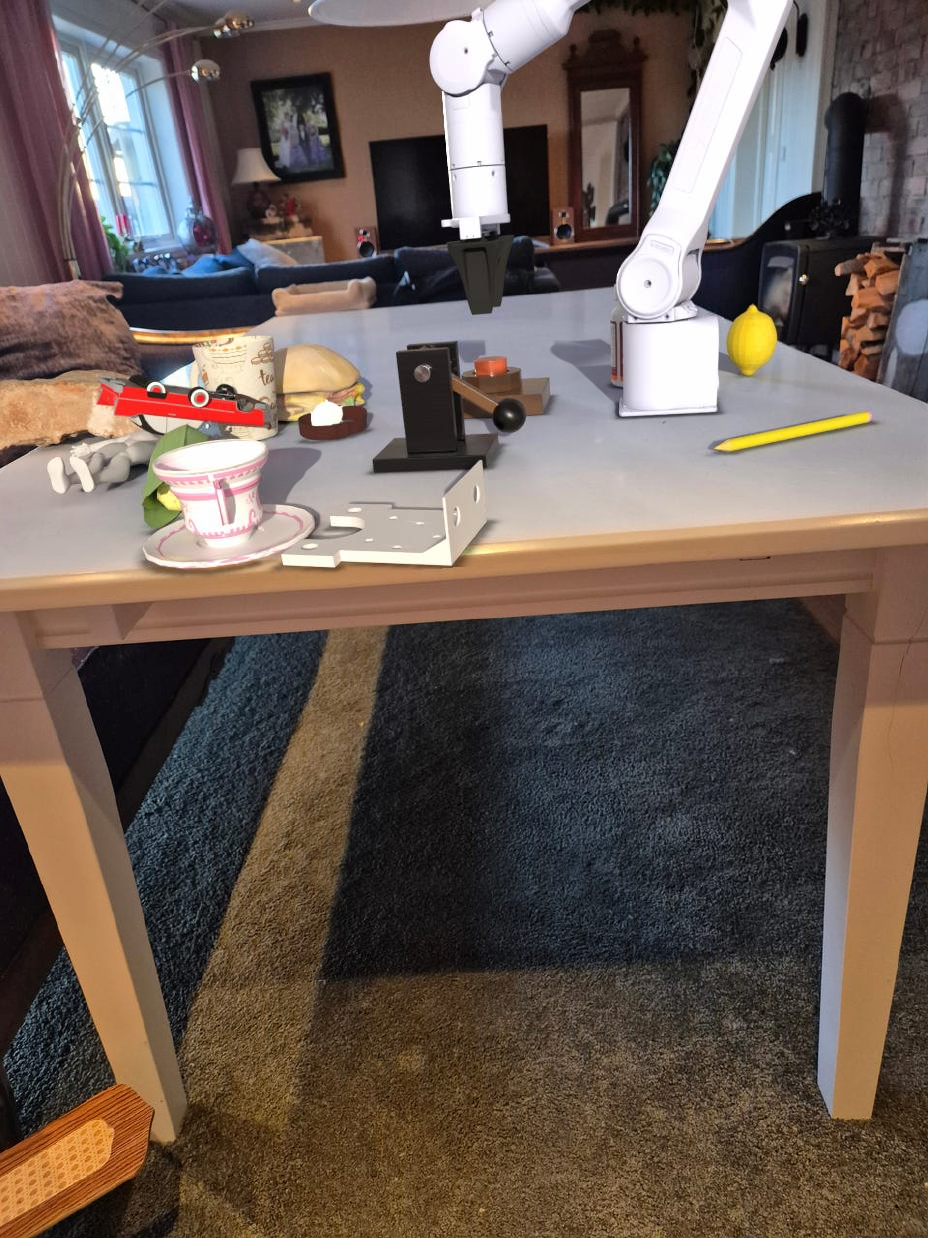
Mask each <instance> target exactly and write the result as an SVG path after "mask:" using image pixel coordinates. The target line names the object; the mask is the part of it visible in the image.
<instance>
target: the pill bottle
mask: <svg viewBox="0 0 928 1238" xmlns="http://www.w3.org/2000/svg"><path fill="white" fill-rule="evenodd" d="M613 301H614V302H618V304H617V306H615V307H614V308H613V309H612V310H611V312H610V316H609V317H610V318H609V319H610V320H609V321H610V322H609V323H610V329H609V330H610V373H611V375H610V376H611V383H612V385H613V386H615V387H618V388H623V321H624V320H623V315H624V314H626V312H627V310H626V309H625V308H624V307H623V306H622V304H621V303H620V301H619V298H618V295H617V290H616V283H614V285H613Z"/></svg>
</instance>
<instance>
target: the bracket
mask: <svg viewBox="0 0 928 1238" xmlns="http://www.w3.org/2000/svg"><path fill="white" fill-rule="evenodd" d="M475 488H476V500H475ZM485 493H486V491H485V480H484V468H483V465H482V460H479V461H478V462H477V463H476V464H475V465H474V466H473V467H472V469H469V470H468V472H466V473H465V474H464V476H463V477H462V478H460V479H459V481H457V483H455V485H453V486H452V487H451V488H450V489H449V490H448V492H446V493H445V494H444V495H443V497H442V499H441V500H442V508H443V509H401V508H400V509H399V508H398V509H397V508H395V509H394V508H393V506H392V504H387V503H386V504H383V503H344V504H343V505H342V506H341V507H339V508H338V509H337V510H336V511H334V512H333V513H332V514H330V515H329V518H330V519H329V520H330V526H331V527H346V528H347V527H351V528H358V529H360V530H359V531H357V532H355V533H352V534H349V535H346V536H341V537H337V538H329V539H328V538H327V539H326V538H325V539H314V538H313V539H312V538H305V539H300V540H299V541H298V542H296V543H295V544H294V545H292V546H291V547H289V548H287V549H285V551H283V552H282V553H281V555H280V556H281V561H282V565H283V566H296V567H297V566H298V567H315V568H316V567H317V568H319V567H320V568H321V567H322V568H336V567H337V566H338V565H339V564H341V562H350V563H351V562H353V563H354V562H355V563H376V564H377V563H378V564H381V563H382V564H404V565H427V566H429V565H430V566H453V565H454V564H455V562H456V561H457V559H459V557H460V556H461V554H463V552H464V551H465V549H466V548H467V547H468V546H469V545H470V543H471V542H472V541H473V540H474V538H475V537H476V536H477V535H478V533H479V532H480V531H481V529H482V528H483V527H484V526H485V524H486V523H488V521H487V520H488V519H487V518H488V517H487V507H486V494H485ZM455 508H456V510H455Z"/></svg>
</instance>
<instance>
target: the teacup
mask: <svg viewBox="0 0 928 1238" xmlns="http://www.w3.org/2000/svg"><path fill="white" fill-rule="evenodd" d="M269 454H270V453H269V448H268V446H267V445H266V444H265V443H264V442H262V441H260V440H257V441H255V440H248V439H227V440H216V441H208V442H202V443H197V444H193V445H188V446H184V447H181V448H178V449H175V450H172V451H169V452H167V453H165V454H163V455H161V456H159V457H158V458H156V459H155V460H154V462H153V463H152V469H153V472H154V474H155V475H156V476H157V477H158V478H159V479H160V480H162V481H163V482H165V483H167V484H168V485H170V492H171V493H172V494H173V495H174V496H175V497H176V498H177V499H178V500H179V502H180V504H181V508H182V511H181V513H182V516H183V519H179V520H177V521H174V522H173V523H170V524H168V525H165V526H163V527H161V528H160V529H159V530H157V531H156V532H154V533H153V534H151V535H150V536H149V537H148V538H146V540H145V542H144V543H143V546H142V547H141V548H142V549H141V550H142V553H143V554H144V557H145V558H146V560H147V561H148V562H151V563H153V564H156V565H158V566H160V567H170V568H176V569H200V568H201V569H203V568H204V569H206V568H207V569H208V568H215V567H222V566H230V565H236V564H242V563H245V562H250V561H253V560H257V559H261V558H265V557H268V556H271V555H274V554H276V553H280V552H281V551H284V550H287V549H289V548H290V547H291V546H292V545H294V544H295V543H296V542H298V541H299V540H300V539H308V537H309V535H310V534H311V533H313V531H314V530H315V529H316V525H315V524H316V523H315V516H314V515H313V514H311V512H309V511H308V510H306V509H304V508H300V507H298V506H297V507H296V506H292V505H286V504H275V503H274V504H271V503H268V504H264V503H263V504H262V502H261V498H260V495H259V494H260V493H259V485H260V482H261V481H262V480H263V479H264V474H263V473H262V472H261V470H262V468H263V467H264V466H265V464H266V463H267V461H268V458H269Z"/></svg>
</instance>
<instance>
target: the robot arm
mask: <svg viewBox="0 0 928 1238" xmlns="http://www.w3.org/2000/svg"><path fill="white" fill-rule="evenodd" d="M590 1H591V0H494V1H493V2H491V4H489V5H487V7H485V8H482V7H479V6H478V7H477V8H476V9H475V10H473V11H472V12H471V15H470V16H471V19H470V21H465V20H462V19H461V20H456V19H455V20H451V21H449V22H446V24H445V26H444V27H443V29H442V30H440V32H439V33H438V34H437V35H436V36H435V38H434V40H433V42H432V45H431V47H430V51H429V52H430V53H429V68H430V73H431V76H432V78H433V80H434V82H435V83H436V85H437V86H438V87H439V88H440V89H441V90H442V91H441V93H442V103H443V104H442V105H443V117H444V131H445V143H446V156H447V167H448V178H449V190H450V203H451V204H450V205H451V214H452V218H451V219H441V221H440V222H441V228H447V227H449V228H450V227H451V229H452V228H453V229H455V228H459V239H460V240H457V241H455V240H454V241H448V242H446V248H447V251H448V253H449V254H450V256H451V258H452V260H453V262H454V263H455V266H456V268H457V270H458V273H459V276H460V278H461V282H462V285H463V289H464V293H465V297H466V301H467V305H468V307H469V311H470V313H471V315H472V316H479V315H490V314H491V315H492V313H493V310H494V308H500V307H501V306H502V301H503V295H504V287H505V286H504V285H505V276H506V268H507V264H508V260H509V255H510V252H511V249H512V246H513V244H514V241H515V235H514V234H508V235H500V234H501V228H500V227H501V226H500V224H507V223H510V222H511V213H509V212H508V211H509V210H508V195H507V179H506V178H507V176H506V166H505V165H506V161H505V145H504V144H505V143H504V127H503V112H502V98H501V93H502V90H503V88H504V86H505V85H506V82H507V80H508V77H509V75H511V74H513V73H515V72H516V71H518V69H520V68H521V67H523V66H524V65H526V64H527V63H528V62H530V61H531V60H533V59H534V58H535V57H537V56H539V55H540V54H541V53H542V52H545V51H546V50H547V49H548V48H550V47H551V46H553V45H554V44H556V43H557V42H558V41H559V40H561V39H562V38H564V37H566V36H567V34H568V33H569V30H570V26H571V23H572V20H573V17H574V14H575V12H576V11H577V10H578V9H580V8H581V7H583V6H584V5H586V4H587V3H589V2H590ZM726 1H727V11H726V13H725V16H724V19H723V22H722V24H721V27H720V30H719V33H718V36H717V38H716V42H715V45H714V47H713V50H712V52H711V56H710V58H709V61H708V64H707V67H706V70H705V73H704V76H703V78H702V80H701V84H700V87H699V89H698V92H697V96H696V97H695V101H694V103H693V106H692V109H691V112H690V115H689V118H688V121H687V123H686V125H685V129H684V132H683V135H682V138H681V139H680V143H679V146H678V149H677V152H676V155H675V157H674V160H673V163H672V166H671V169H670V171H669V175H668V177H667V180H666V183H665V186H664V189H663V191H662V194H661V197H660V200H659V202H658V206H657V207H656V209H655V210H654V213H653V214H652V215H651V217H650V218H649V220H648V222H647V224H646V225H645V227H644V228H643V231H642V233H641V236H640V238H639V239H640V240H639V242H638V244H637V246H636V247H635V248H634V249H633V251H632V252H631V253H630V254H629V255H628V256H627V257H626V258H625V259H624V261H623V262H622V263H621V265H620V268H619V269H618V272H617V275H616V279H615V284H616V290H617V295H618V298H619V301H620V303H621V304H622V306H623V307H624V308H625V309H626V310H627V312H626V314H624V315H623V320H624V321H623V387H622V395H623V396H621V397H620V398H619V407H618V409H619V410H618V413H619V417H624V418H625V417H644V416H662V415H665V416H666V415H681V414H683V415H684V414H704V413H716V412H718V406H717V405H718V392H719V389H720V375H719V353H720V328H719V327H720V326H719V318H718V316H717V315H698V308H697V307H696V305H695V304H694V302H693V301H692V300H691V299H692V298H693V297H694V296H695V295H696V293H697V291H698V290H699V287H700V284H701V280H702V264H701V262H702V260H701V259H702V254H703V250H704V248H705V245H706V242H707V239H708V233H709V231H708V230H709V223H710V218H711V216H712V213H713V211H714V208H715V205H716V203H717V200H718V198H719V195H720V193H721V191H722V187H723V185H724V182H725V180H726V177H727V175H728V172H729V170H730V167H731V164H732V162H733V159H734V157H735V154H736V152H737V149H738V146H739V144H740V141H741V139H742V137H743V133H744V131H745V129H746V126H747V123H748V122H749V121H748V120H749V118H750V115H751V113H752V110H753V108H754V105H755V103H756V100H757V98H758V95H759V92H760V89H761V87H762V84H763V82H764V79H765V76H766V74H767V71H768V69H769V66H770V64H771V61H772V59H773V56H774V54H775V51H776V49H777V45H778V43H779V40H780V38H781V36H782V32H783V31H784V27H785V25H786V23H787V19H788V17H789V15H790V12H791V9H792V7H793V3H794V0H726ZM619 301H618V302H619Z"/></svg>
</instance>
